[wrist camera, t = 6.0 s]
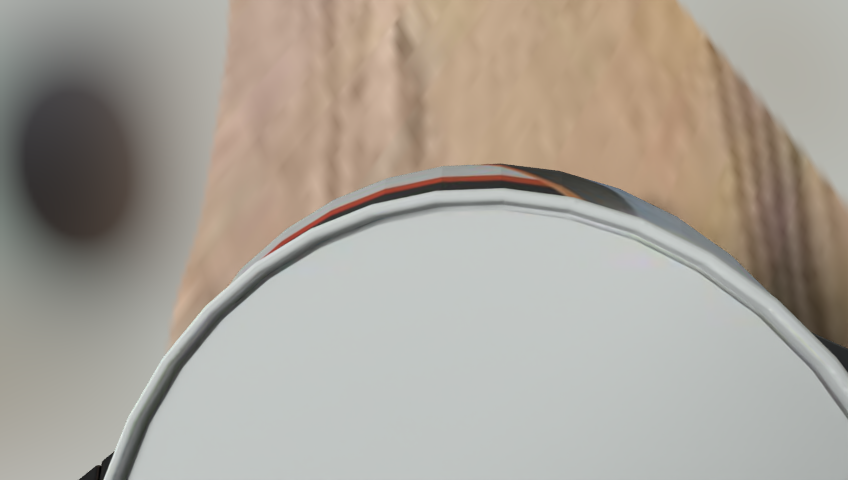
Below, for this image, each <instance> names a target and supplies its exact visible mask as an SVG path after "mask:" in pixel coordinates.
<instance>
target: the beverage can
mask: <svg viewBox="0 0 848 480" xmlns="http://www.w3.org/2000/svg"><path fill="white" fill-rule="evenodd" d="M104 480H848V372H847V371H846V370H845V368H844V367H843V366H842V364H841V363H840V361H839V360H838V359H837V357H835V356H834V355H833V354H832V353H831V352H830V351H829V350H828V349H827V348H826V347H825V346H824V345H823V344H822V343H821V342H820V341H819V340H818V339H817V338H816V337H815V336H814V335H813V334H812V333H811V332H810V331H809V330H808V329H807V328H806V327H805V326H804V325H803V324H802V323H801V322H800V321H799V320H798V319H797V318H796V317H795V316H794V315H793V314H792V313H791V312H790V311H789V310H788V309H787V308H786V307H785V306H784V305H783V304H782V303H781V302H780V301H779V300H778V299H776V298H775V297H774V296H772V295H771V294H770V293H769V292H768V291H767V290H766V289H765V288H764V287H763V286H762V285H761V284H760V283H759V282H758V281H757V280H756V279H755V278H754V277H753V276H752V275H751V274H750V273H749V272H748V271H747V270H746V269H745V268H743V267H742V266H741V265H740V264H739V263H738V262H737V261H736V260H735V259H734V258H733V257H732V256H731V255H730V254H728V253H727V252H726V251H724V250H723V249H721V248H720V247H718V246H717V245H716V244H714V243H713V242H711V241H710V240H709V239H707V238H706V237H704V236H703V235H702V234H700V233H699V232H697V231H696V230H694V229H693V228H692V227H690V226H689V225H687V224H686V223H685V222H683V221H682V220H680V219H679V218H678V217H676V216H674V215H672V214H670V213H668V212H666V211H664V210H662V209H660V208H657V207H655V206H653V205H651V204H649V203H647V202H645V201H643V200H641V199H639V198H637V197H635V196H633V195H631V194H629V193H627V192H625V191H623V190H621V189H618V188H615V187H611V186H608V185H605V184H601V183H598V182H595V181H591V180H588V179H585V178H581V177H578V176H575V175H571V174H568V173H565V172H561V171H555V170H547V169H539V168H531V167H523V166H515V165H507V164H483V165H461V166H442V167H437V168H433V169H428V170H424V171H419V172H414V173H410V174H405V175H400V176H396V177H391V178H387V179H384V180H382V181H379V182H377V183H374V184H372V185H369V186H367V187H364V188H362V189H359V190H357V191H354V192H352V193H349V194H347V195H344V196H342V197H340V198H337V199H335V200H333V201H331V202H330V203H328V204H326V205H325V206H323V207H322V208H320V209H318V210H317V211H315V212H313V213H312V214H310V215H309V216H307V217H305V218H304V219H302V220H300V221H299V222H297V223H295V224H294V225H292V226H291V227H289V228H287V229H286V230H285V231H284V232H283V233H281V234H280V235H279V236H278V237H277V238H276V239H275V240H273V241H272V242H271V243H270V244H269V245H268V246H267V247H265V248H264V249H263V250H262V251H261V252H260V253H259V254H257V255H256V256H255V257H254V258H253V259H252V260H251V261H249V262H248V263H247V264H246V265H245V266H244V267H243V268H242V269H241V270H240V271H239V272H238V274H237V275H236V276H235V277H234V278H233V280H232V281H231V282H230V283H229V284H228V286H227V287H226V288H225V289H224V291H222V292H221V293H220V294H219V295H218V296H217V297H215V298H214V299H213V300H212V301H211V302H210V303H209V304H207V305H206V306H205V307H204V309H203V310H202V311H201V312H200V313H199V315H198V316H197V317H196V318H195V320H194V321H193V322H192V323H191V324H190V326H189V327H188V328H187V329H186V330H185V332H184V333H183V334H182V335H181V336H180V338H179V339H178V340H177V341H176V343H175V344H174V345H173V346H172V347H171V349H170V350H169V351H168V352H167V353H166V355H165V356H164V357H163V359H162V360H161V362H160V364H159V365H158V367H157V369H156V370H155V372H154V374H153V376H152V377H151V379H150V381H149V382H148V384H147V386H146V388H145V389H144V391H143V393H142V395H141V396H140V398H139V400H138V401H137V403H136V405H135V406H134V408H133V410H132V412H131V413H130V415H129V417H128V419H127V421H126V424H125V427H124V429H123V432H122V434H121V437H120V439H119V442H118V444H117V447H116V449H115V452H114V455H113V457H112V460H111V462H110V465H109V467H108V470H107V472H106V475H105V477H104Z"/></svg>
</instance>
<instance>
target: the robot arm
mask: <svg viewBox="0 0 848 480" xmlns="http://www.w3.org/2000/svg"><path fill="white" fill-rule="evenodd" d="M812 334H813V335H814V336H815V337H816V338H817V339H818V340H819V341H820V342H821V343H822V344H823V345H824V346H825V347H826V348H827V349H828V350H829V351H830V352H831V353H832V354H833V355H834V356H835V357H837V359H838V360H839V361H840V363H841V364H842V366H843V367H844V368H845V370H846V371H847V372H848V349H847V348H845V347H843V346H841V345H838V344H836V343H834V342H832V341H829V340H827V339H825V338H823V337H820V336H818V335H816V334H814V333H812ZM114 452H115V451H114ZM114 452H113V453H112V454H111V455H109V456H108V457H107V458H106V459H104V460H103V461H102V464H101V466H100V465H97V466H95V467H94V468H93V469H92V470H90V471H89V472H88V473H87V474H86V475H84V476H83V477H82V478H80V479H79V480H104V477H105V475H106V472H107V470H108V467H109V465H110V462H111V460H112V457H113V455H114Z"/></svg>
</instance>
